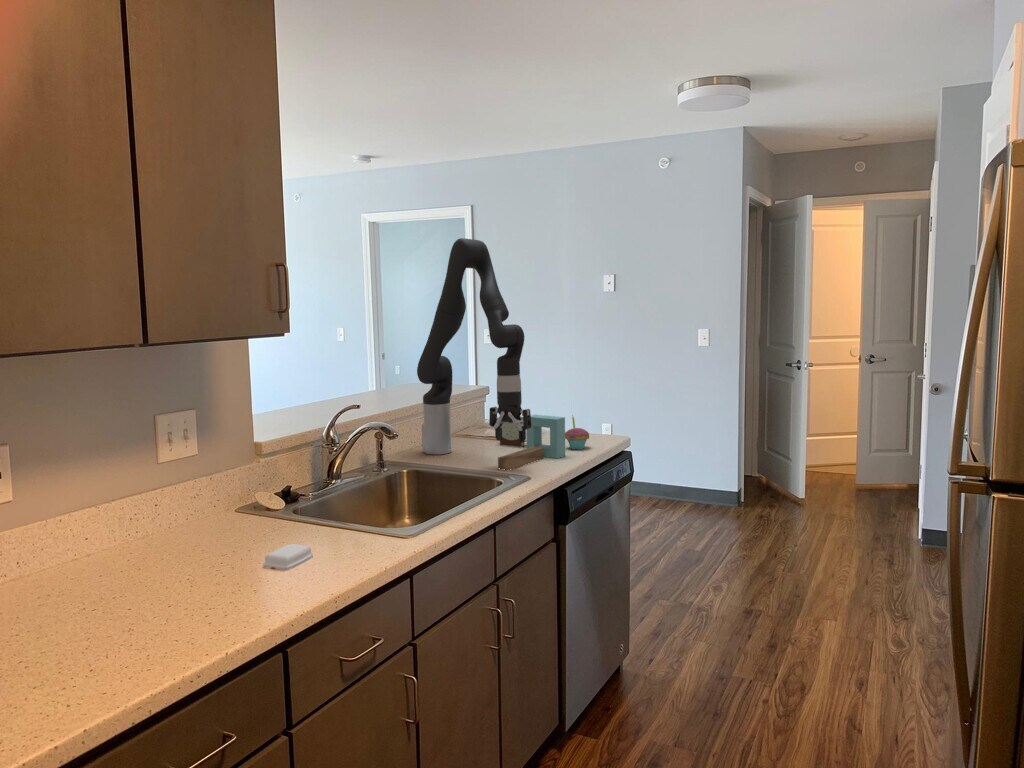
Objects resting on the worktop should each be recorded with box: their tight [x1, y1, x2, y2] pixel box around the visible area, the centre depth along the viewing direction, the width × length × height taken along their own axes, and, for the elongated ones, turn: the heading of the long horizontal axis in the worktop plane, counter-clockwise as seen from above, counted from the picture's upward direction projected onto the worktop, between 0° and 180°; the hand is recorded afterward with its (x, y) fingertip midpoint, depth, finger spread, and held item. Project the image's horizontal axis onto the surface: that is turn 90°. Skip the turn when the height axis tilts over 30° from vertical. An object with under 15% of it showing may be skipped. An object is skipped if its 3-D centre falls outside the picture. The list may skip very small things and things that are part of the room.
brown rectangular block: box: [497, 446, 545, 471], centre depth 239 cm, size 4×20×4 cm, turn 145°
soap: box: [262, 543, 314, 571], centre depth 153 cm, size 9×7×3 cm
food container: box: [497, 416, 526, 448], centre depth 269 cm, size 12×6×10 cm, turn 58°
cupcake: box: [565, 414, 590, 450], centre depth 261 cm, size 9×8×12 cm
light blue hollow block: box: [526, 414, 566, 460], centre depth 250 cm, size 12×5×13 cm, turn 55°
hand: (510, 441), depth 233 cm, fingers open, 8 cm apart
